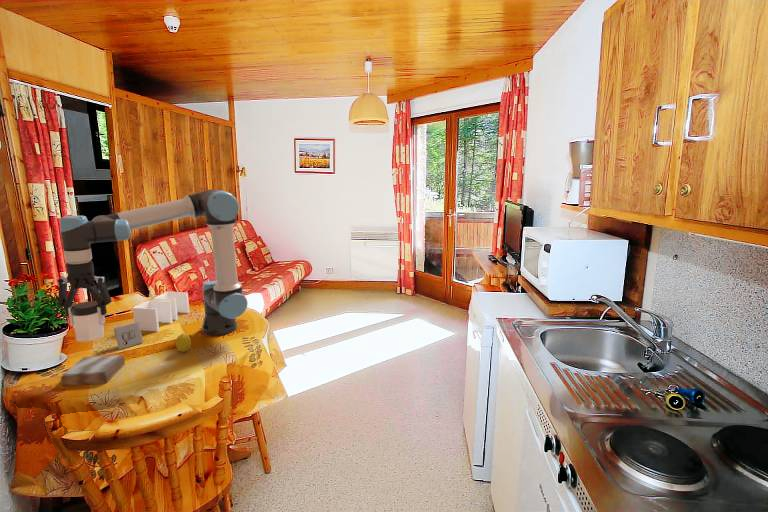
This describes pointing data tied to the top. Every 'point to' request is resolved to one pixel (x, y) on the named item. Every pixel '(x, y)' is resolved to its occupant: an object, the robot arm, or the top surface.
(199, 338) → the top surface
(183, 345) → the lemon
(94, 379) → the stand
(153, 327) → the white domino row
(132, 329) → the electrical switch
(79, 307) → the jar
